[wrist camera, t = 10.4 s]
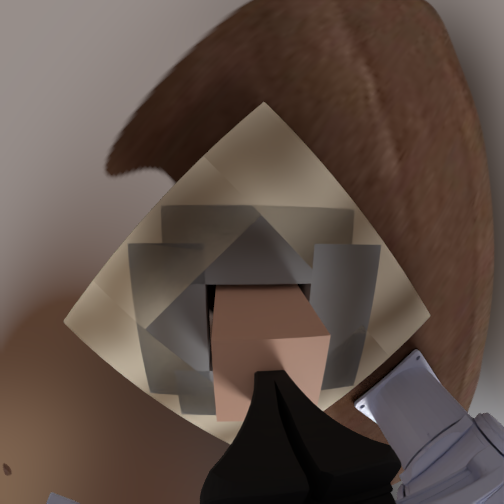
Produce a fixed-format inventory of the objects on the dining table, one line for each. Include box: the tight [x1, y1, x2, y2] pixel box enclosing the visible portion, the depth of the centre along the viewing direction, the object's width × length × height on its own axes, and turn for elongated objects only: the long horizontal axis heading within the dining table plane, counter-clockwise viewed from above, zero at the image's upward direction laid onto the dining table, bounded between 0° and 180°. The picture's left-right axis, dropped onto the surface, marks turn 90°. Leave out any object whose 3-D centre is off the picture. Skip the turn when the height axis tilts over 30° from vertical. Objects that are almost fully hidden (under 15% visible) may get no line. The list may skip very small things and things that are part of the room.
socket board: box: [64, 102, 430, 444], centre depth 18 cm, size 19×19×2 cm
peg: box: [211, 284, 331, 422], centre depth 16 cm, size 5×5×8 cm
